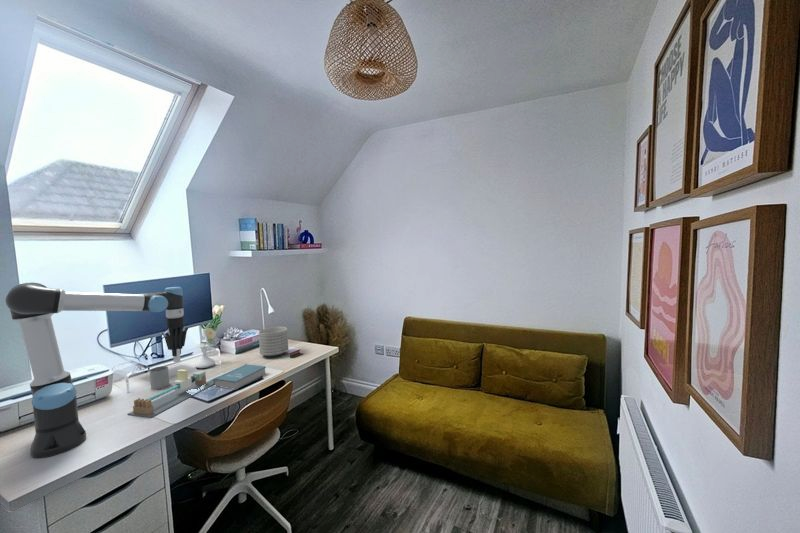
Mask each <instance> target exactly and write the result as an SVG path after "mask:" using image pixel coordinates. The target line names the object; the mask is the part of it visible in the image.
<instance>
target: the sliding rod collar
mask: <svg viewBox="0 0 800 533" xmlns="http://www.w3.org/2000/svg"><path fill="white" fill-rule="evenodd" d="M176 375H177V379H176V380H175V381H173V384H174V386H176V385H178V384H180V387H178V388H176V389H174V391H175V390H179V391H182V390H184V389H186V388H188V387H190V386H192V381H191V376H190V377H189V373H188V369H182V368H181V369H178V370H177V371H176ZM174 386H173V387H174Z"/></svg>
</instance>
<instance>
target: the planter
mask: <svg viewBox="0 0 800 533" xmlns="http://www.w3.org/2000/svg"><path fill="white" fill-rule="evenodd" d="M288 332H289V331H288V328H287V327H286V326H272V327H266V328H263V329H260V330H258V344H259V354H260V355H262V356H265V357H269V358H274V357H279V356H281V355H282V354H284V353H286V352H288V351H289V339H288V338H289V336H288V334H289V333H288Z"/></svg>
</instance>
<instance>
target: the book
mask: <svg viewBox="0 0 800 533" xmlns="http://www.w3.org/2000/svg"><path fill="white" fill-rule="evenodd" d="M265 375H267V373H266V365H255V364H249V363H245V364H244V365H240V366H239V367H237V368H235V369H233V370H230V371H228V372H225V373H223V374H221V375H220V376H219V375H218V376H217V377H215V378H213V379H212V381H213V382H212V383H214V385H216V386H223V387H228V388H234V389H235V390H239V388H242V387H244V386H245V385H248V384H250V383H251V382H253V381H255V380H258V379H259V378H261V377H263V376H265ZM214 385H213V386H214ZM228 388H227V389H228ZM234 389H233V390H234ZM235 390H234V391H235Z"/></svg>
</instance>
